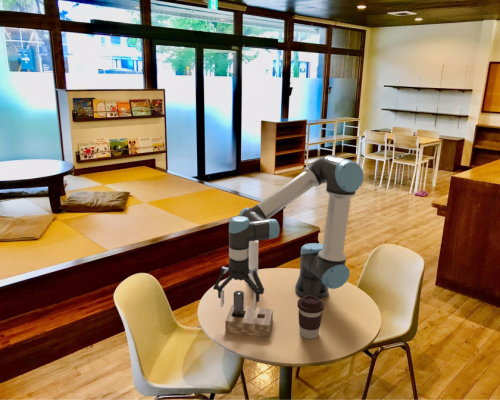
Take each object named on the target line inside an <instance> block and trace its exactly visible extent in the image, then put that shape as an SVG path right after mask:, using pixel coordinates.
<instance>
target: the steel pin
mask: <svg viewBox="0 0 500 400" xmlns="http://www.w3.org/2000/svg"><path fill="white" fill-rule="evenodd" d="M244 297H245V292H244V291H243V290H236V291H233V305H234V317H241V318H244V306H245V305H244V304H245V298H244Z"/></svg>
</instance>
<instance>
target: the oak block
mask: <svg viewBox="0 0 500 400" xmlns="http://www.w3.org/2000/svg"><path fill="white" fill-rule="evenodd" d="M273 317H274V309H273V308H264V307H258V306H257V307H256V310H254V306H247V305H246V306H245V305H244V318H241V317H234V304H232V305H230V308H229V312H228V314H227V315H226V319H225V321H224V322H225V330H224V331H225V333H228V334H229V333H230V334H231V333H232V334H238V335H247V336H248V335H249V336H257V337H266V338H270V333H271V329H272V324H273V320H274V319H273Z"/></svg>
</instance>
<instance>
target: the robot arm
mask: <svg viewBox="0 0 500 400" xmlns="http://www.w3.org/2000/svg"><path fill="white" fill-rule="evenodd" d="M364 177H365V176H364V171H363V168H362V167H361V165H360V164H358V163H357V162H355V161H354V160H351V159H349V158H348V159H347V158H344V157H341V156H338V155H333V154H329V155H325V156H322V157H320V158H318V159H316V160H315V161H312V162H311V163H309V164H308V165H307V166H305V167H304V168H303V170H302V172H301V173H300V174H298V175H297V176H295V177H294V178H292V179H291V180H289V181H288V182H286V183H285V184H283V186H281V187H280V188H278V189H277V190H276V191H274V192H273V193H271V194H270V195H268V196H267V197H265V198H264V199H263V200H261V201H260V202H258V203H257V204H256V205H254V206H253V207H245V208H243V209H242V210H240V212H239V215H237V216H233V217H232V218H230V220H229V223H228V267H226V266H225V265H223V266H222V267H221V269H220V274H219V276H218V277H217V280H216V282H215V284H214V286H213V290H216V291H217V297H218V299H220V308H223V307H224V304H225V289H224V288H225V287H226V286H228V284H229V283H230V282H231V281H232V280H233V279H234V281H244V282H245V284H246V283H247V284H248V285H249V286H248V285H247V284H246V285H247V286H248V287H250V289H251V290H252V291H253V292H254V294H253V307H254V310H256V307H257V308H258V306H257V303H259V301H260V295H264V292H265V288H264V286H263V283H262V282H261V279H260V277H259V274H258V275H257V269H254V270H250V269H249V242H250V241H257V240H258V241H264V240H265V241H266V240H271V239H274V238H275V239H276V238H278V237H279V235H280V231H281V229H280V224H279V222H278V220H277V219H275V218H271V217H272V216H274V215H276V214H277V213H278V212H280V211H281V210H282V209H284V208H286V206H288V205H289V204H291V203H292V202H293V201H295V200H297V198H299V197H300V196H302V195H303V194H305V193H307V192H308V191H309V190H310V189H312V188H313V187H316V188H317V187H319V186H320V185H322V184H326V188H325V189H326V190H325V192H326V193H327V194H328V204H327V213H326V220H325V226H324V235H323V241H322V243H320V242H319V243H318V242H317V243H316V242H312V243H311V242H310V243H305V244H304V245H302V246H301V248H300V259H299V261H300V262H299V263H300V264H299V276H298V279H297V280H296V283H295V287H294V288H295V290H294V292H295V294H296V295H298V296H299V297H301V298H303V297H304V296H306V295H313V296H316V297H318V298H319V299H320V300H321V299H324V298H326V297H328V295H329V289H331V290H334V289H338V288H341V287H343V286H344V285H345V284H346V283H347V282H348V280H349V277H350V275H351V273H350V269H349V267H348V266H347V265H346V261H347V256H346V254H345V253H344V249H345V242H346V235H347V228H348V220H349V213H350V205H351V199H352V198H353V196H355V195H356V191H358V190H359V189H360V187H361V186H362V185H363V181H364ZM226 273H228V274H229V275H228V277H227V278H226V279H225V280H224V281H223V282H222V283H221V284H220V282H221V280H222V278H223V276H224V275H225V274H226ZM249 273H251V275H252V276H253V278H254V280H255V282H256V284H257V286H256V285H255V284H254V283H253V281H252V280H251V279H250V277H249V275H248V274H249ZM219 284H220V285H219Z"/></svg>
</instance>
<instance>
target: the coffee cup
mask: <svg viewBox="0 0 500 400" xmlns="http://www.w3.org/2000/svg"><path fill="white" fill-rule="evenodd" d="M297 309H298V326H299V327H298V328H299V334H300V336H301V337H302V338H304V339H308V340H312V339H313V340H314V339H315V338H316V339H317V337H319V335H320V334H319V333H320V327H321V325H322V323H321V322H322V316H323V311H324V309H325V303H324V302H323V301H322V300H321V299H319V298H318V297H316V296H313V295H306V296H304V297H301V298H299V299H298V300H297Z"/></svg>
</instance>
